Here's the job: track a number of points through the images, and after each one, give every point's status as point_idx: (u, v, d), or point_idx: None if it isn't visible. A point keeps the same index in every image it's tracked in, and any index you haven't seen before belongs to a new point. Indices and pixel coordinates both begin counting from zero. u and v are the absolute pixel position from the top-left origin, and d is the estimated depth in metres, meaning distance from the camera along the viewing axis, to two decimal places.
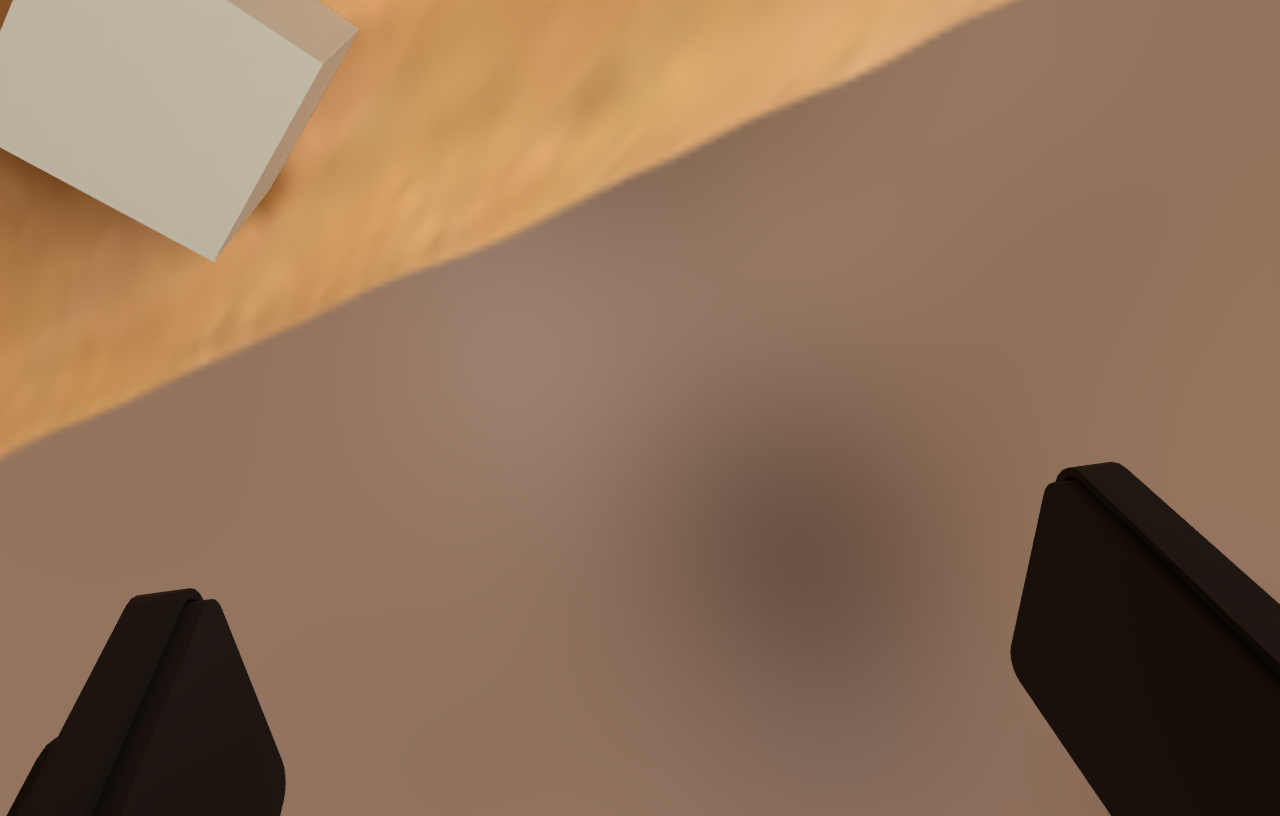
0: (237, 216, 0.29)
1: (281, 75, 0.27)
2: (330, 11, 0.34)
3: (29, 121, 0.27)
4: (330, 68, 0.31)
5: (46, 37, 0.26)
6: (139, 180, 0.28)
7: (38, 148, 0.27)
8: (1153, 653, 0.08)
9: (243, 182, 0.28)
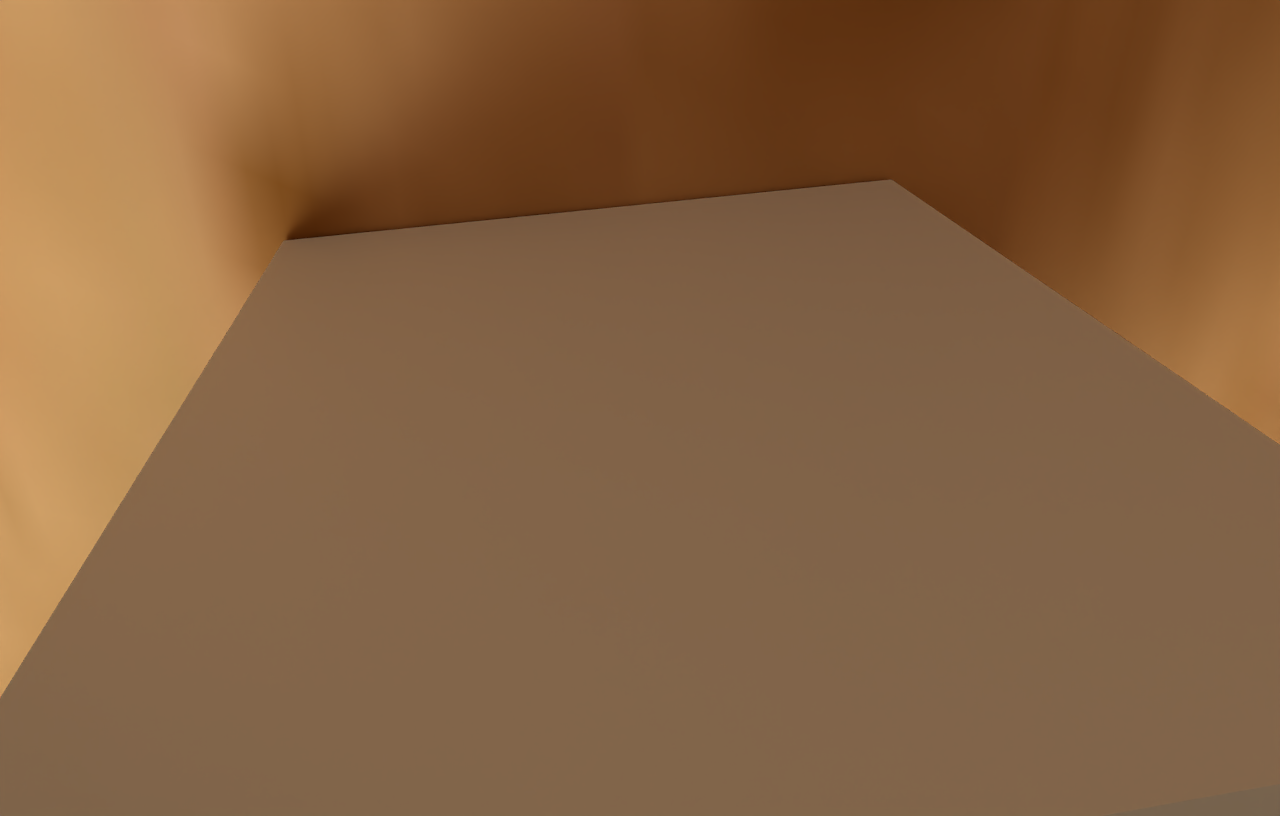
0: None
1: None
2: None
3: None
4: None
5: None
6: None
7: None
8: None
9: None
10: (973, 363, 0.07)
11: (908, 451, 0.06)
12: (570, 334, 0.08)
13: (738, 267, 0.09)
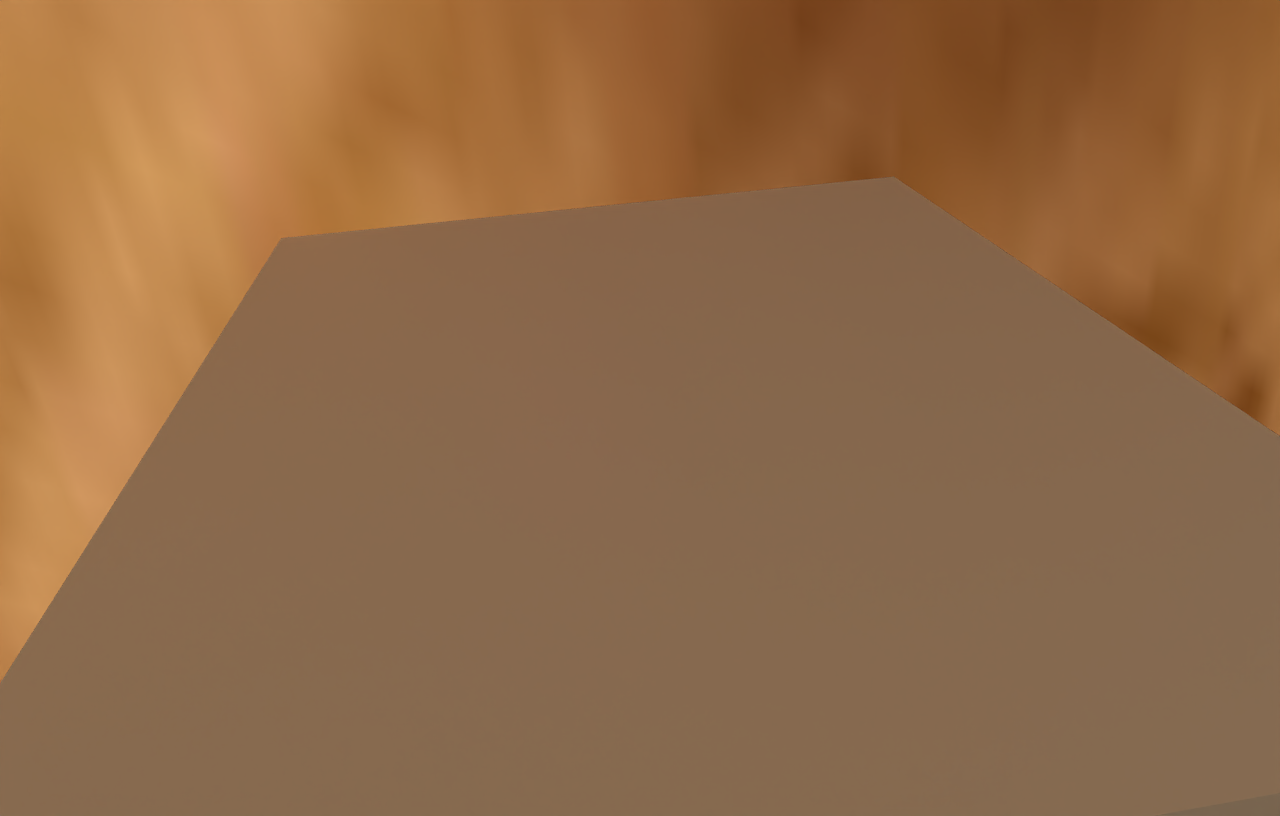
0: None
1: None
2: None
3: None
4: None
5: None
6: None
7: None
8: None
9: None
10: (978, 361, 0.07)
11: (913, 450, 0.06)
12: (570, 332, 0.08)
13: (740, 264, 0.09)
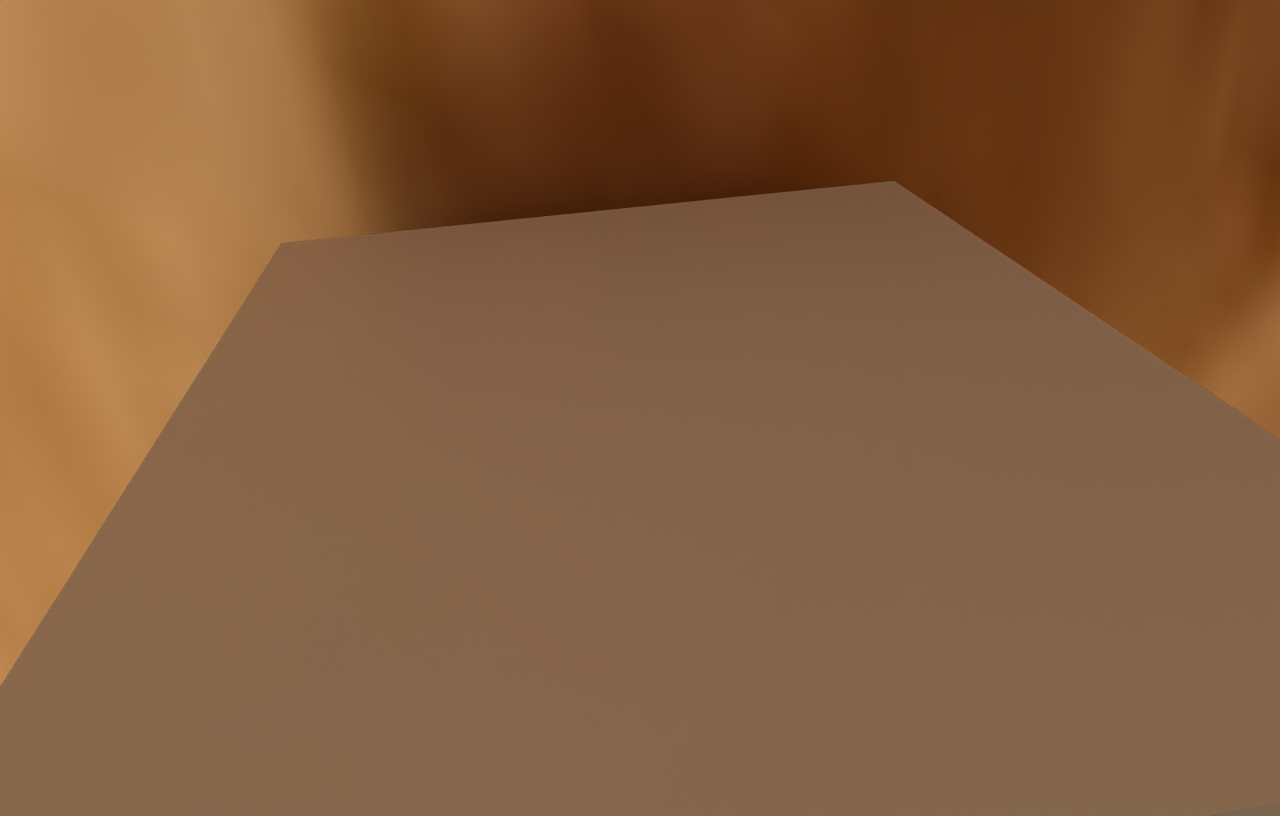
0: None
1: None
2: None
3: None
4: None
5: None
6: None
7: None
8: None
9: None
10: (979, 365, 0.07)
11: (915, 455, 0.06)
12: (570, 337, 0.08)
13: (740, 269, 0.09)
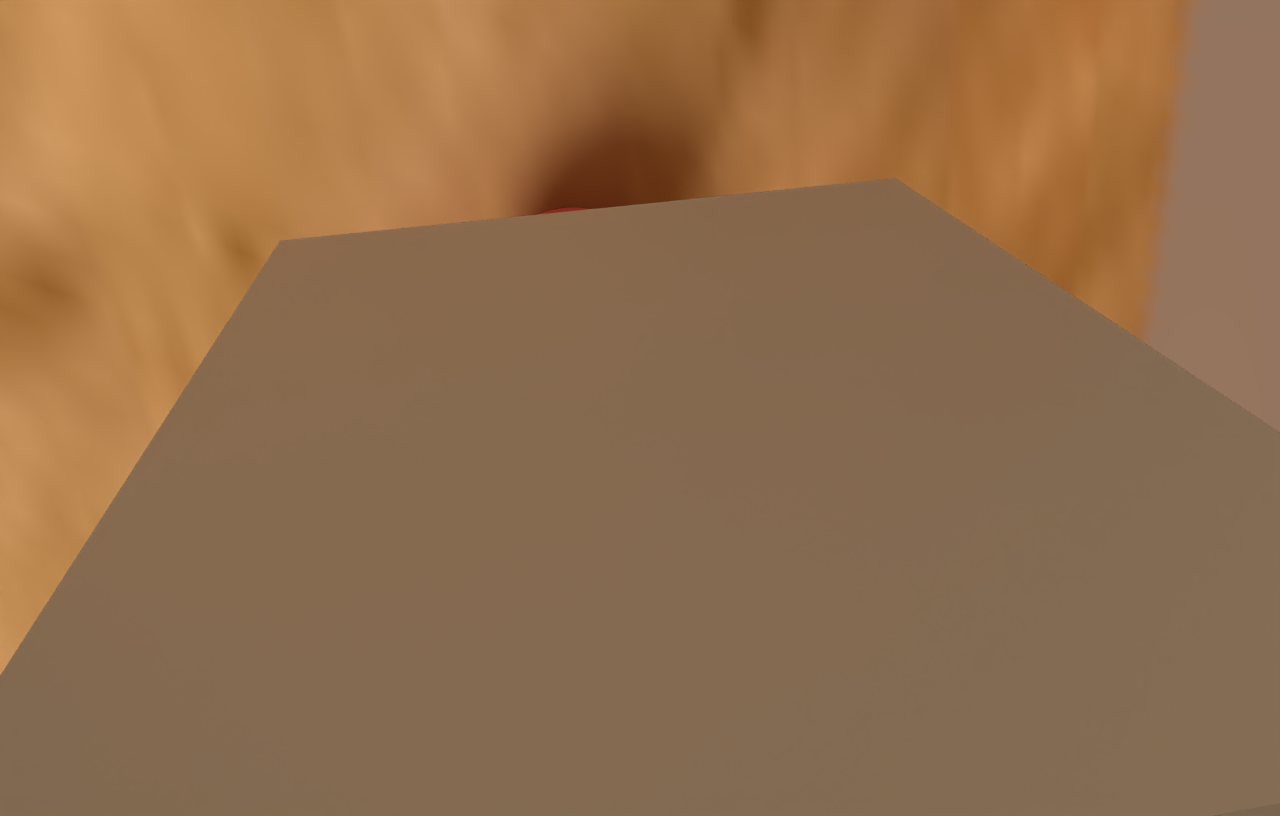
0: None
1: None
2: None
3: None
4: None
5: None
6: None
7: None
8: None
9: None
10: (982, 362, 0.07)
11: (917, 452, 0.06)
12: (570, 334, 0.08)
13: (741, 266, 0.09)
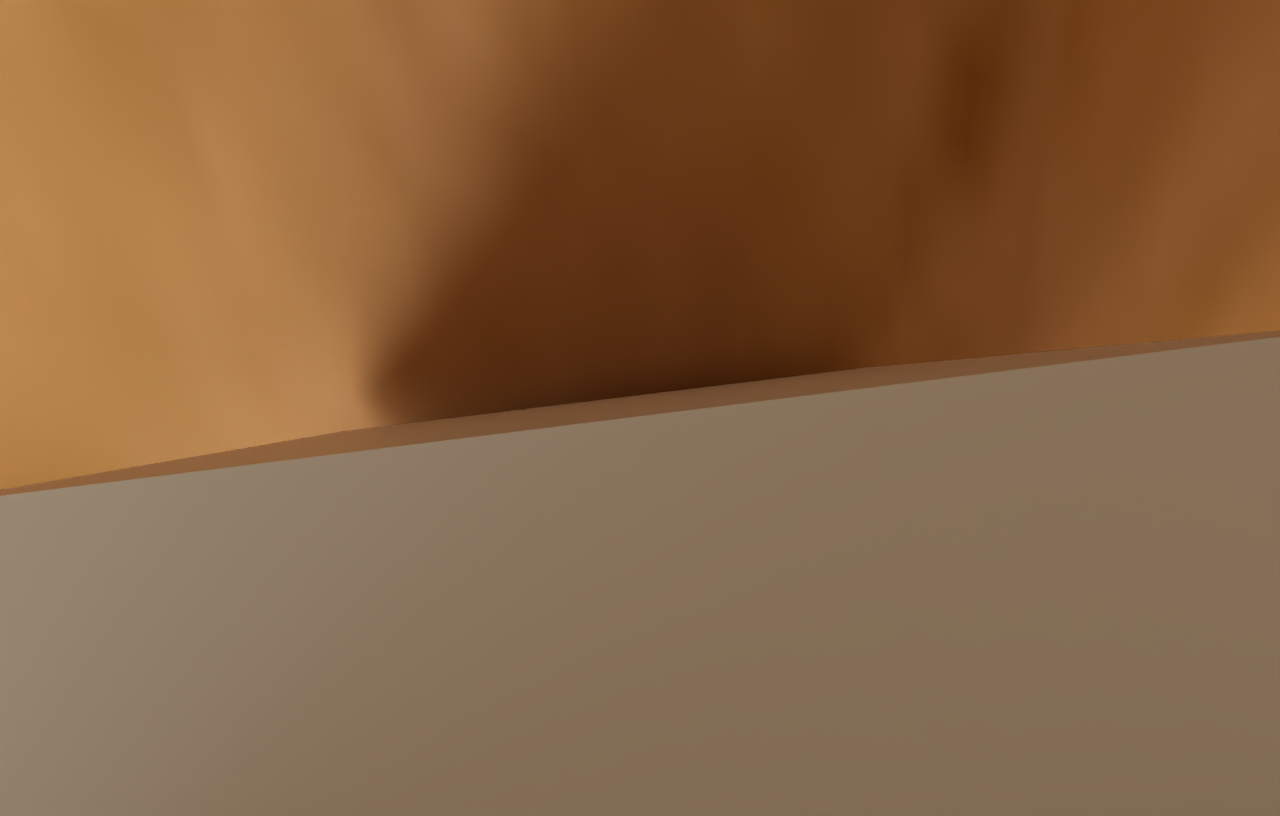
0: None
1: None
2: None
3: (1216, 587, 0.04)
4: None
5: None
6: (586, 700, 0.04)
7: (1114, 475, 0.04)
8: None
9: None
10: (911, 368, 0.08)
11: (846, 379, 0.07)
12: (575, 406, 0.09)
13: None
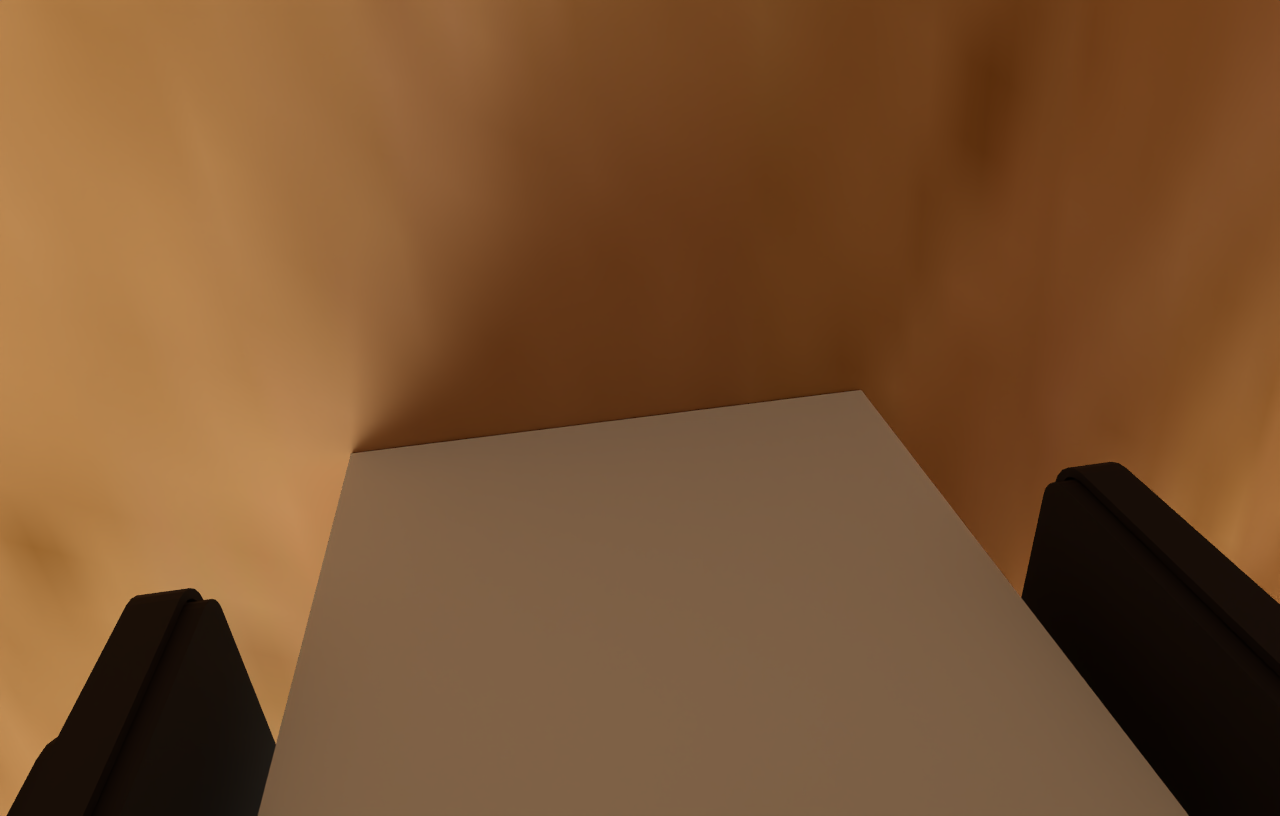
0: None
1: None
2: None
3: None
4: None
5: None
6: None
7: None
8: (1153, 653, 0.08)
9: None
10: (910, 633, 0.09)
11: (853, 732, 0.08)
12: (596, 586, 0.10)
13: (730, 505, 0.11)
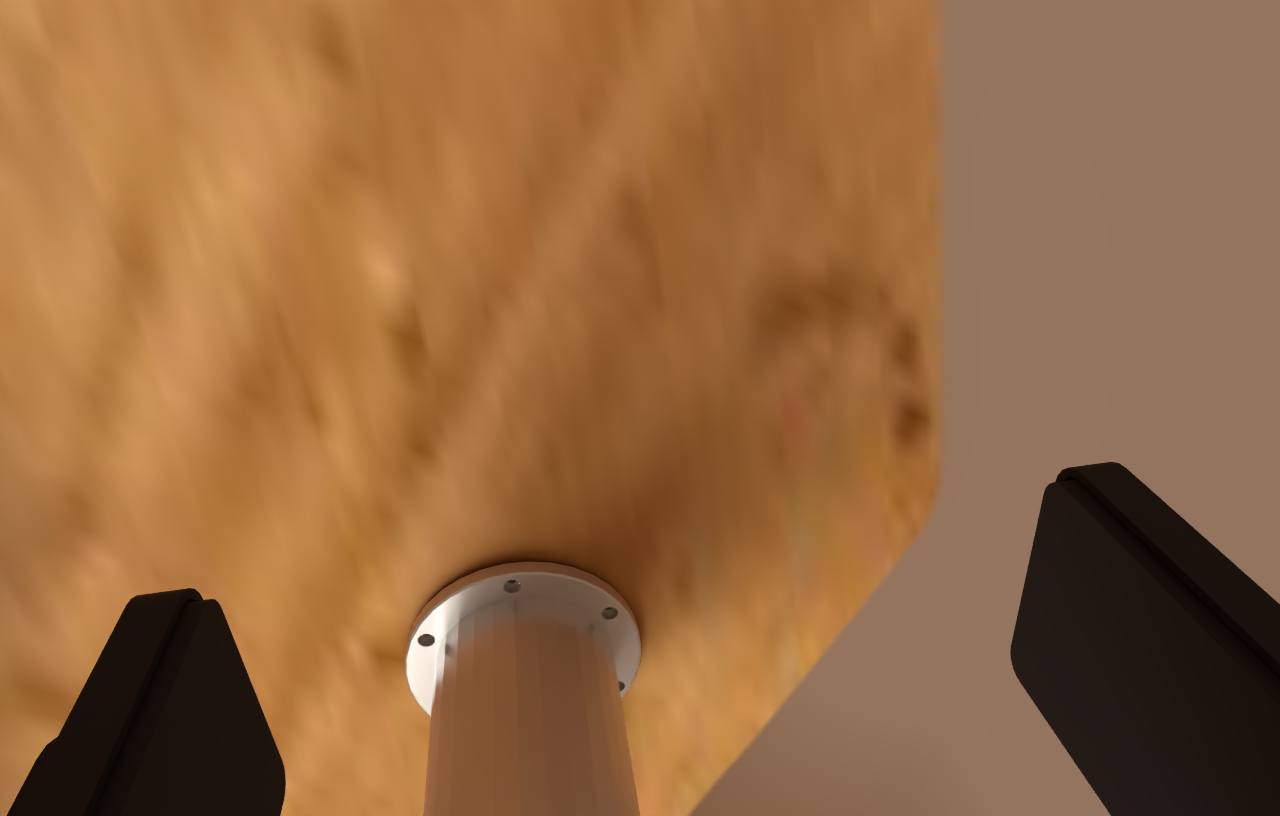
0: None
1: None
2: None
3: None
4: None
5: None
6: None
7: None
8: (1153, 653, 0.08)
9: None
10: None
11: None
12: None
13: None
